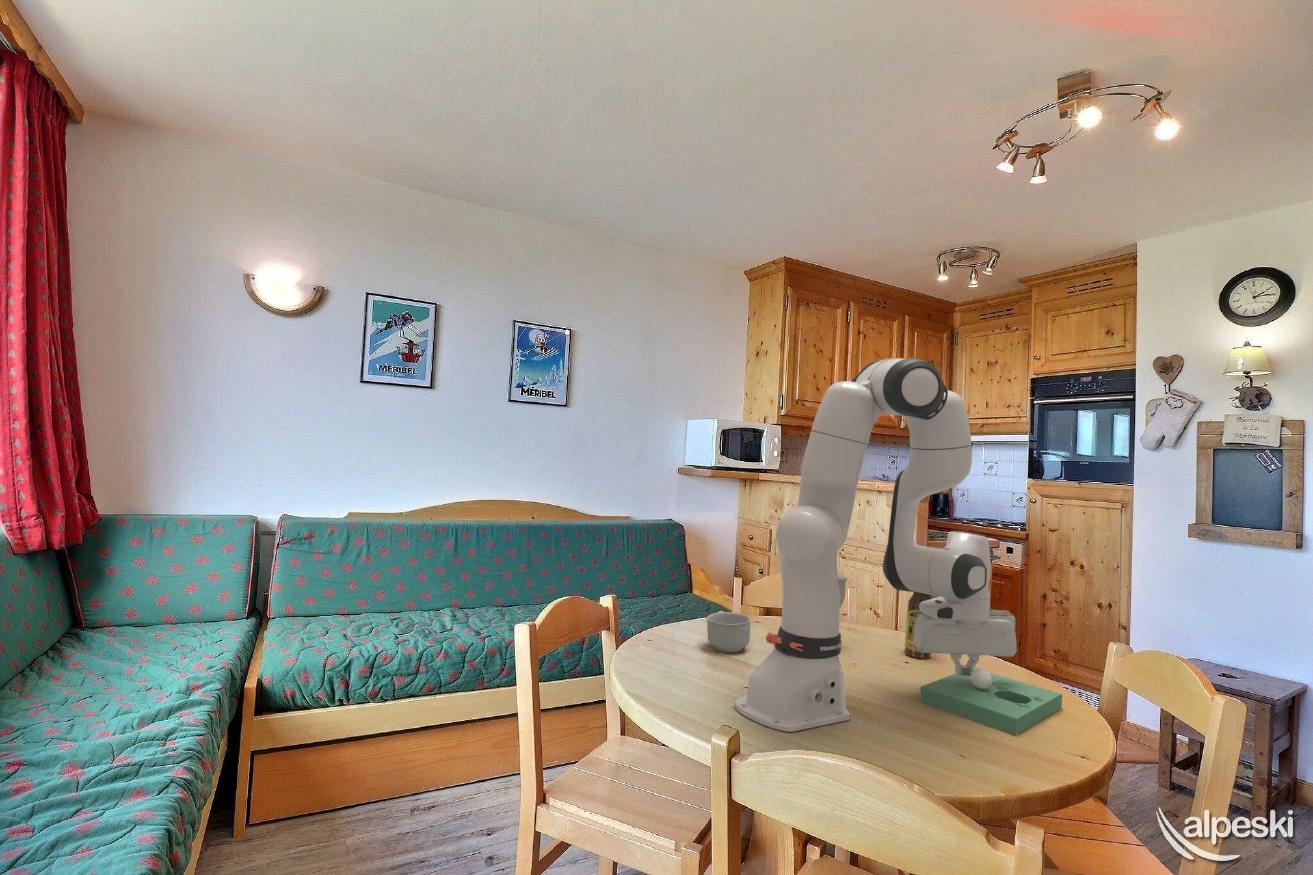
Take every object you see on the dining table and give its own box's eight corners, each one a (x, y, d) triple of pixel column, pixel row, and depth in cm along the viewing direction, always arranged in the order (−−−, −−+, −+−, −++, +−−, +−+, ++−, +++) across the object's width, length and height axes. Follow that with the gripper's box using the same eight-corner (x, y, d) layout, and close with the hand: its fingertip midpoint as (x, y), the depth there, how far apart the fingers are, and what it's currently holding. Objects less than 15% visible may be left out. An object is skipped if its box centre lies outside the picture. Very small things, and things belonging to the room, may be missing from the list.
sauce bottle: (904, 657, 154) (907, 577, 154) (904, 650, 159) (906, 573, 160) (933, 661, 151) (936, 580, 152) (931, 654, 157) (934, 575, 158)
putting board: (1016, 735, 111) (1016, 718, 111) (920, 701, 125) (920, 686, 125) (1061, 708, 124) (1062, 693, 125) (970, 680, 139) (970, 667, 139)
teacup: (752, 657, 148) (753, 623, 148) (706, 654, 148) (708, 621, 148) (744, 640, 162) (745, 609, 162) (703, 637, 162) (704, 607, 162)
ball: (965, 684, 127) (981, 696, 123) (965, 668, 126) (981, 679, 122) (981, 678, 128) (997, 689, 125) (980, 661, 127) (996, 672, 123)
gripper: (1006, 606, 133) (1005, 671, 132) (911, 602, 133) (909, 667, 132) (1024, 614, 126) (1022, 682, 126) (924, 609, 127) (922, 678, 126)
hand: (963, 674), depth 129 cm, fingers closed
